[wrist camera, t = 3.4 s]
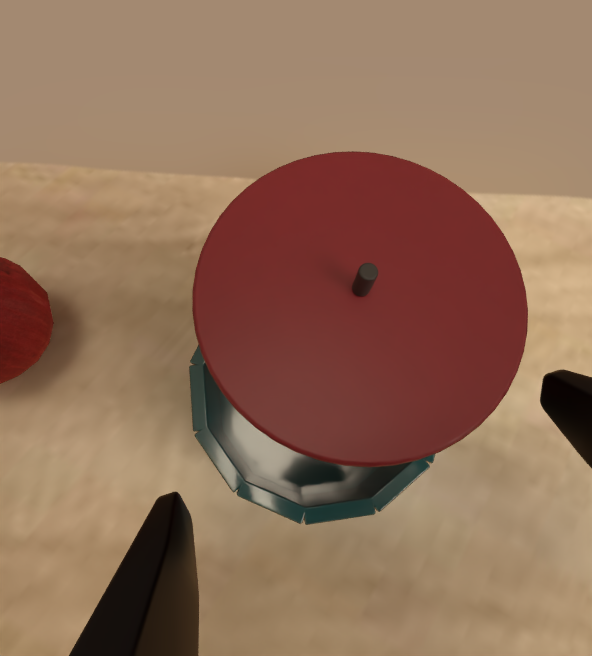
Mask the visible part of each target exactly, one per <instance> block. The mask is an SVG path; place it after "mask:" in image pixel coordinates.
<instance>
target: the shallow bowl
mask: <svg viewBox="0 0 592 656" xmlns="http://www.w3.org/2000/svg"><path fill="white" fill-rule="evenodd" d="M190 362H191V363H192V364H193V365H191V366H190V367H189V371H190V388H191V405H192V422H193V431H195V432H197V433H196V434H195V437H196V439H197V440H198V442H199V443H200V444H201V446H202V447H203V449H204V450H205V452H206V453H207V455H208V456H209V458H210V459H211V461H212V462H213V464H214V465H215V467H216V468H217V470H218V471H219V473H220V474H221V475H222V477H223V478H224V480H225V481H226V483H227V484H228V486H229V487H230V489H231V490H232V492H235V491H236V490H238V492H237V496H239V497H241V498H243V499H246V500H248V501H250V502H252V503H255V504H257V505H259V506H261V507H264V508H266V509H268V510H270V511H273V512H275V513H277V514H279V515H281V516H284V517H286V518H288V519H290V520H293V521H295V522H297V523H299V524H301V523H302V522H303V519H304V521H305V524H306V525H309V524H315V523H322V522H329V521H335V520H342V519H348V518H355V517H361V516H368V515H374V514H375V509H376V510H377V511H378V512H380V511H381V510H383V509H384V508H385V507H386V506H387V505H388V504H389V503H390V502H391V501H393V500H394V499H395V498H396V497H397V496H398V495H399V494H400V493H402V492H403V491H404V490H405V489H406V488H407V487H408V486H409V485H411V484H412V483H413V482H414V481H415V480H416V479H417V478H418V477H419V476H421V475H422V474H423V473H424V472H425V471H426V470H427V469H428V468H429V467H430V465H429V464H428V463H433V461H434V457H435V454H433V455H430V456H428V457H425V458H422V459H420V460H416V461H412V462H407V463H403V464H398V465H393V466H380V467H358V466H344V465H339V464H334V463H329V462H324V461H320V460H317V459H314V458H311V457H308V456H306V455H303V454H300V453H297V452H295V451H293V450H291V449H289V448H287V447H285V446H283V445H281V444H279V443H277V442H275V441H274V440H272V439H271V438H270V437H268V436H267V435H265V434H264V433H262V432H261V431H259V430H258V429H257V428H255V427H254V426H253V425H252V424H251V423H250V422H249V421H247V420H246V419H245V418H244V417H243V416H242V415H241V414H240V413H239V412H238V411H237V410H236V409H235V408H234V407H233V405H232V404H231V403H230V402H229V401H228V399H227V398H226V397H225V396H224V394H223V393H222V392H221V390H220V389H219V387H218V385H217V384H216V382H215V380H214V379H213V377H212V376H211V374H210V372H209V370H208V367H207V365H206V363H205V361H204V358H203V356H202V354H201V351H200V347H199V345H198V347H197V349H196V351H195V353H194V355H193V357H192V359H191V361H190Z"/></svg>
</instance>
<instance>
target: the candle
mask: <svg viewBox="0 0 592 656" xmlns="http://www.w3.org/2000/svg"><path fill="white" fill-rule="evenodd" d="M192 311H193V319H194V326H195V333H196V336H197V340H198V343H199V347H200V351H201V354H202V356H203V358H204V361H205V363H206V365H207V367H208V370H209V372H210V374H211V376H212V377H213V379H214V380H215V382H216V384H217V385H218V387H219V389H220V390H221V392H222V393H223V394H224V396H225V397H226V398H227V399H228V401H229V402H230V403H231V404H232V405H233V407H234V408H235V409H236V410H237V411H238V412H239V413H240V414H241V415H242V416H243V417H244V418H245V419H246V420H247V421H249V422H250V423H251V424H252V425H253V426H254V427H255V428H257V429H258V430H259V431H261V432H262V433H264V434H265V435H267V436H268V437H270V438H271V439H272V440H274V441H275V442H277V443H279V444H281V445H283V446H285V447H287V448H289V449H291V450H293V451H295V452H297V453H300V454H303V455H306V456H308V457H311V458H314V459H317V460H320V461H324V462H329V463H334V464H339V465H344V466H358V467H380V466H393V465H398V464H403V463H407V462H412V461H416V460H420V459H422V458H425V457H428V456H430V455H433V454H436V453H438V452H441V451H442V450H444V449H446V448H448V447H450V446H451V445H453V444H455V443H457V442H459V441H460V440H462V439H463V438H464V437H466V436H467V435H468V434H470V433H471V432H472V431H474V430H475V429H476V428H477V427H479V426H480V425H481V424H482V423H483V422H484V420H485V419H486V418H487V417H488V416H489V415H490V414H491V413H492V412H493V411H494V410H495V409H496V407H497V406H498V404H499V403H500V402H501V400H502V399H503V397H504V396H505V394H506V393H507V391H508V389H509V387H510V385H511V383H512V381H513V379H514V377H515V375H516V373H517V371H518V368H519V365H520V362H521V359H522V355H523V352H524V347H525V341H526V336H527V323H528V307H527V299H526V290H525V286H524V282H523V278H522V274H521V270H520V268H519V265H518V263H517V260H516V258H515V255H514V253H513V250H512V249H511V247H510V245H509V243H508V241H507V240H506V238H505V236H504V234H503V233H502V231H501V230H500V228H499V227H498V226H497V224H496V223H495V222H494V220H493V219H492V217H491V216H490V215H489V214H488V213H487V212H486V211H485V210H484V209H483V208H482V207H481V205H480V204H479V203H478V202H477V201H476V200H474V199H473V198H472V197H471V196H470V195H469V194H467V193H466V192H465V191H464V190H463V189H461V188H460V187H458V186H457V185H456V184H454V183H452V182H451V181H450V180H448V179H447V178H445V177H443V176H441V175H439V174H437V173H436V172H434V171H432V170H430V169H428V168H425V167H423V166H421V165H418V164H416V163H413V162H411V161H407V160H404V159H400V158H397V157H393V156H389V155H383V154H377V153H369V152H333V153H327V154H320V155H314V156H311V157H307V158H303V159H300V160H296V161H294V162H291V163H289V164H286V165H284V166H281V167H279V168H277V169H275V170H274V171H271V172H270V173H268V174H266V175H264V176H262V177H261V178H259V179H258V180H257V181H255V182H254V183H253V184H251V185H250V186H248V187H247V188H246V189H245V190H244V191H243V192H241V193H240V194H239V195H238V196H237V197H236V198H235V199H234V200H233V201H232V202H231V203H230V204H229V206H228V207H227V208H226V209H225V211H224V212H223V213H222V214H221V215H220V217H219V218H218V220H217V222H216V223H215V225H214V226H213V228H212V230H211V231H210V233H209V235H208V237H207V240H206V242H205V244H204V246H203V248H202V251H201V254H200V257H199V260H198V264H197V267H196V271H195V278H194V284H193V307H192Z"/></svg>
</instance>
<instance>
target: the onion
mask: <svg viewBox="0 0 592 656" xmlns="http://www.w3.org/2000/svg"><path fill="white" fill-rule="evenodd" d="M53 324H54V322H53V318H52V313H51V308H50V304H49V299H48V294H47V292H46V291H45V290H44V289H43V288H42V287H41V286H40V285H39V284H38V283H37V282H36V281H35V280H34V279H33V278H32V277H31V276H30V275H29V274H28V273H27V272H26V271H25V270H24V269H23V268H22V267H21V266H20V265H17V264H15V263H13V262H11V261H9V260H7V259H5V258H1V257H0V384H1V383H3V382H5V381H8V380H10V379H13V378H15V377H17V376H18V375H20V374H22V373H23V372H24V371H26V370H27V369H28V368H29V367H31V366H32V365H33V364H34V363H36V362H37V361H38V360H39V358H40V357H41V355H42V354H43V352H44V351H45V349H46V347H47V346H48V344H49V342H50V337H51V333H52V328H53Z"/></svg>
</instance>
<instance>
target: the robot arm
mask: <svg viewBox="0 0 592 656" xmlns="http://www.w3.org/2000/svg"><path fill="white" fill-rule="evenodd" d="M540 402H541V405H542V407H543V409H544V411H545V412H546V413H547V414H548V416H549V417H550V418H551V419H552V421H553V422H554V423H555V424H556V426H557V427H558V428H559V429H560V431H561V432H562V433H563V434H564V436H565V437H566V438H567V439H568V441H569V442H570V443H571V444H572V446H573V447H574V448H575V449H576V451H577V452H578V453H579V454H580V456H581V457H582V458H583V459H584V460H585V461H586V463H587V464H588V465H589V466H590V467H591V468H592V377H588V376H585V375H581V374H577V373H574V372H570V371H567V370H557V371H554V372H551V373H548V374H546V375H545V376H544V378H543V383H542V389H541V396H540ZM198 640H199V591H198V579H197V568H196V557H195V546H194V535H193V525H192V519H191V515H190V513H189V511H188V509H187V507H186V505H185V503H184V501H183V500H182V498H181V496H180V494H179V493H178V492H172V493H169V494H166V495H163V496H160V497H159V498H158V499H157V500H156V502H155V504H154V505H153V507H152V509H151V511H150V513H149V514H148V516H147V518H146V520H145V521H144V523H143V525H142V527H141V529H140V530H139V532H138V534H137V536H136V537H135V539H134V541H133V543H132V545H131V546H130V548H129V550H128V552H127V553H126V555H125V557H124V559H123V561H122V562H121V564H120V566H119V568H118V569H117V571H116V573H115V575H114V576H113V578H112V580H111V582H110V584H109V585H108V587H107V589H106V591H105V592H104V594H103V596H102V598H101V600H100V601H99V603H98V605H97V607H96V608H95V610H94V612H93V614H92V616H91V617H90V619H89V621H88V623H87V624H86V626H85V628H84V630H83V632H82V633H81V635H80V637H79V639H78V640H77V642H76V644H75V646H74V648H73V649H72V651H71V653H70V655H69V656H198Z"/></svg>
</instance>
